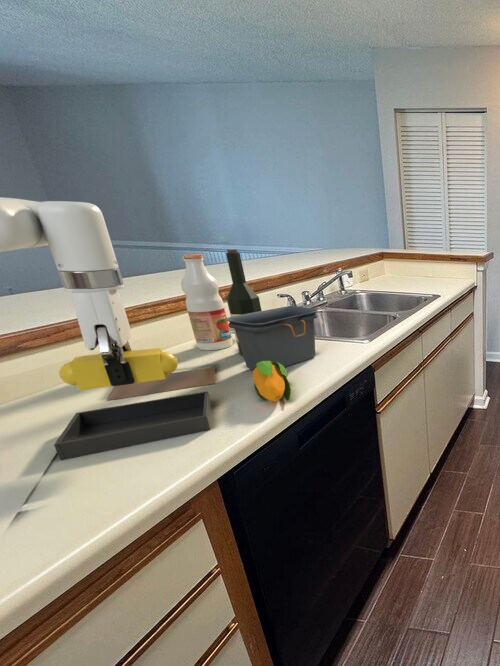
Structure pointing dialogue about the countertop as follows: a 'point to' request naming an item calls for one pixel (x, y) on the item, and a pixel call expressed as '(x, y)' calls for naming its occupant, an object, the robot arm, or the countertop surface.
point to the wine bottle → (240, 290)
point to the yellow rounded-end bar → (142, 362)
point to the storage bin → (276, 335)
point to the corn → (271, 381)
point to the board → (166, 384)
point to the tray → (134, 424)
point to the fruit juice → (205, 305)
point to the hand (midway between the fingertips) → (125, 378)
